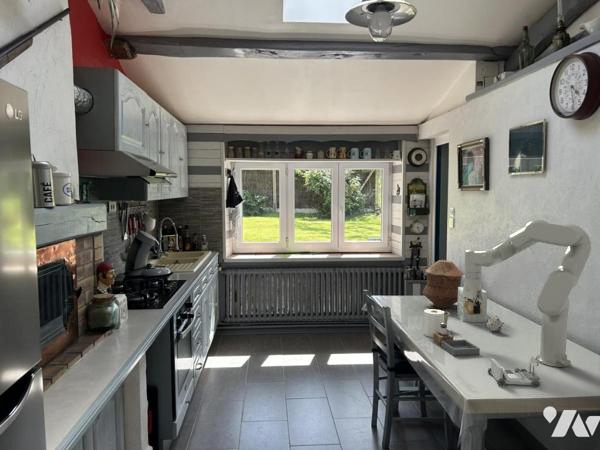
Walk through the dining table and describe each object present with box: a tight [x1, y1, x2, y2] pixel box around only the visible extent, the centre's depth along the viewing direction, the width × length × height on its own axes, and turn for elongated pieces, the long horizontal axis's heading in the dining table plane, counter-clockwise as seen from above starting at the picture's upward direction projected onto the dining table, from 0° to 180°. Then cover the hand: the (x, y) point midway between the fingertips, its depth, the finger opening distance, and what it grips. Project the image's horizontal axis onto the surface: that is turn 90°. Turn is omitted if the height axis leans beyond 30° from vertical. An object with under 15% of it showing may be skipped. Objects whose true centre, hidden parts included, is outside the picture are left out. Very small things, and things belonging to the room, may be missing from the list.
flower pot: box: [443, 310, 451, 324], centre depth 237 cm, size 9×9×9 cm
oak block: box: [464, 300, 482, 315], centre depth 213 cm, size 6×6×6 cm
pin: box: [440, 322, 448, 336], centre depth 213 cm, size 3×3×10 cm
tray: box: [440, 339, 481, 357], centre depth 203 cm, size 12×12×3 cm
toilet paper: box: [423, 308, 444, 338], centre depth 227 cm, size 10×10×12 cm
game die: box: [484, 315, 504, 333], centre depth 233 cm, size 9×8×10 cm
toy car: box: [487, 355, 541, 388], centre depth 171 cm, size 18×10×12 cm
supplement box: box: [456, 286, 488, 323], centre depth 256 cm, size 13×13×18 cm
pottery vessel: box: [422, 259, 465, 309], centre depth 284 cm, size 26×26×30 cm
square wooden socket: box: [432, 332, 454, 347], centre depth 213 cm, size 7×7×4 cm
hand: (473, 311), depth 213 cm, fingers closed on oak block, 6 cm apart
